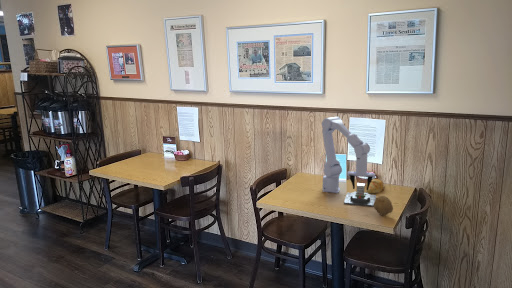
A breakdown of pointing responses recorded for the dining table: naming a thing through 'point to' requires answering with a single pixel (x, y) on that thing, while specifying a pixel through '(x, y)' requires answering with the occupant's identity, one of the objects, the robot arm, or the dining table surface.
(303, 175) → the dining table surface
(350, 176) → the robot arm
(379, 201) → the natural sponge
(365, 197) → the stand base
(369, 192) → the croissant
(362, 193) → the column
